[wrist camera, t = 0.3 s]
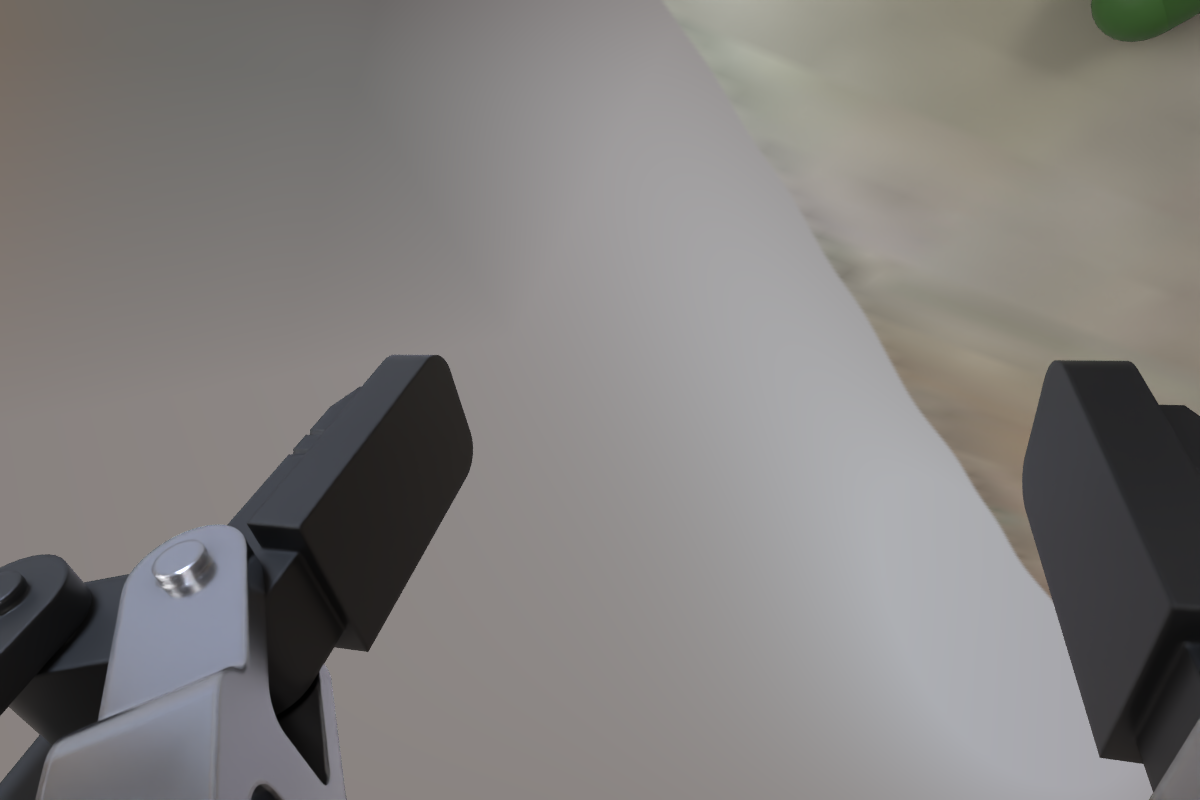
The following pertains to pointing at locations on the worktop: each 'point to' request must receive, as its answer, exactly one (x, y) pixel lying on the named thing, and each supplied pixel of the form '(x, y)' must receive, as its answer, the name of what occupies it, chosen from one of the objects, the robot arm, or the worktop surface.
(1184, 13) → the cucumber
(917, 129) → the worktop surface
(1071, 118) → the worktop surface
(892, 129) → the worktop surface
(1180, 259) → the worktop surface
